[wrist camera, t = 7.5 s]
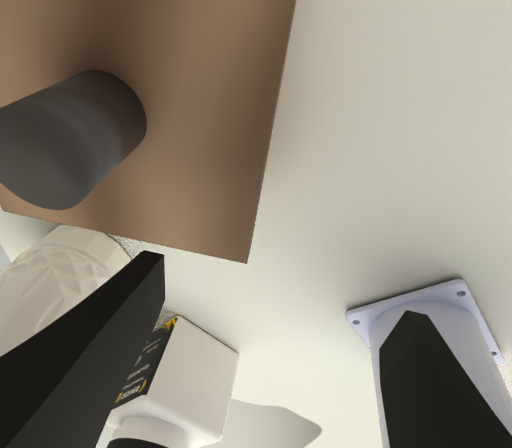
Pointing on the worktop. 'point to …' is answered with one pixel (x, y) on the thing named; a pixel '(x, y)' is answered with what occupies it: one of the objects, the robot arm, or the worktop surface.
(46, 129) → the lid
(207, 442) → the medicine bottle
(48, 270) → the white cup
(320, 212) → the worktop surface
